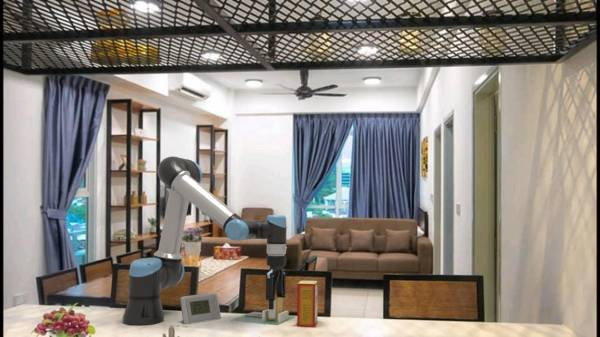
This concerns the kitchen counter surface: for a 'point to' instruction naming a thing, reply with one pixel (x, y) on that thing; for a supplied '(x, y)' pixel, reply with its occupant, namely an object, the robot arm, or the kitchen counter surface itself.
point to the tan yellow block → (278, 307)
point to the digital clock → (200, 308)
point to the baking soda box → (307, 303)
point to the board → (264, 318)
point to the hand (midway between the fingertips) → (275, 316)
